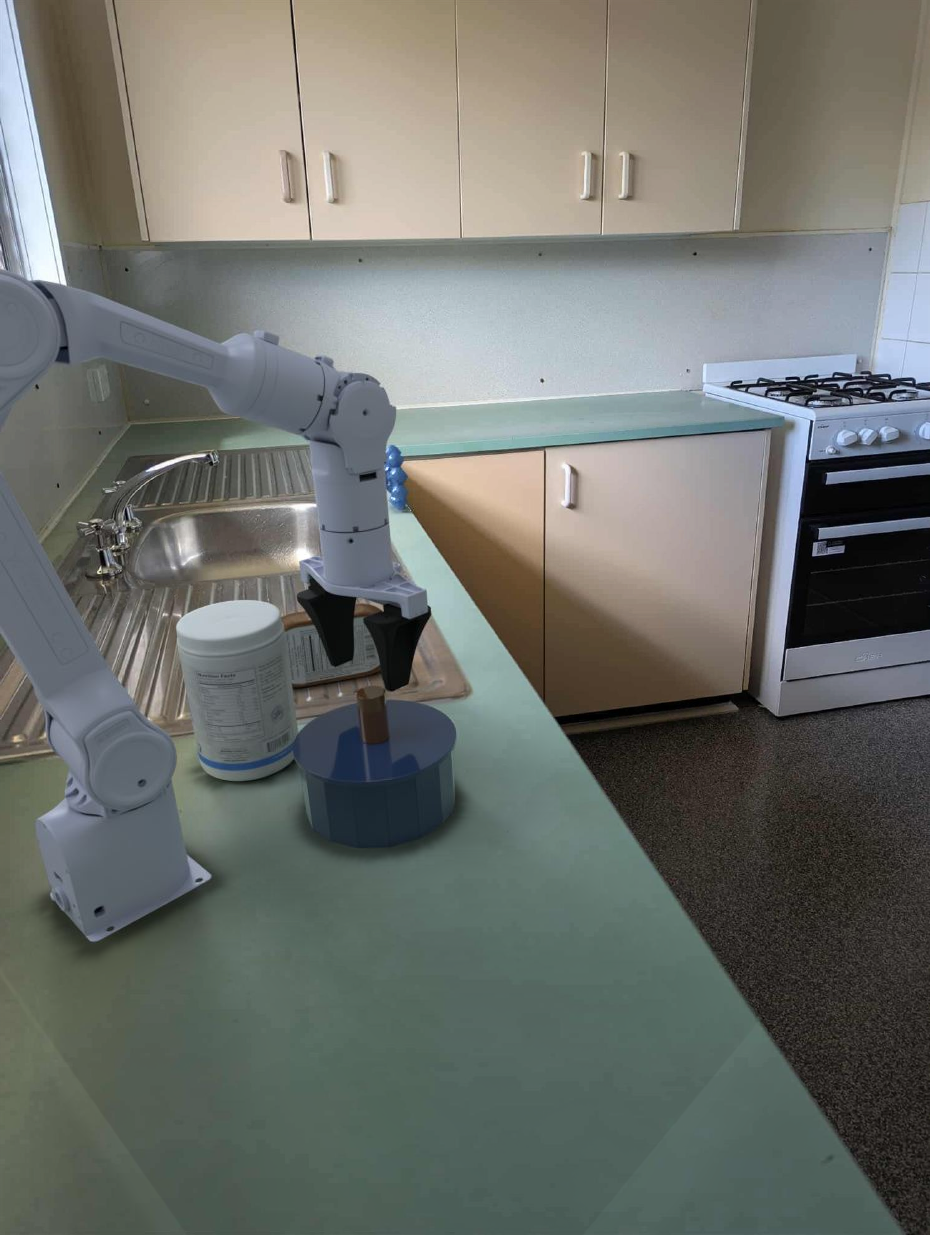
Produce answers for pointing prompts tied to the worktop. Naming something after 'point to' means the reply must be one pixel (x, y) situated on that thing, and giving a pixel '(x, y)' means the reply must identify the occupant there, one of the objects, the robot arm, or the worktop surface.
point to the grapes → (395, 478)
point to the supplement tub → (238, 688)
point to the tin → (312, 659)
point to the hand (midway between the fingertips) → (369, 674)
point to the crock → (381, 808)
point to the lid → (374, 741)
